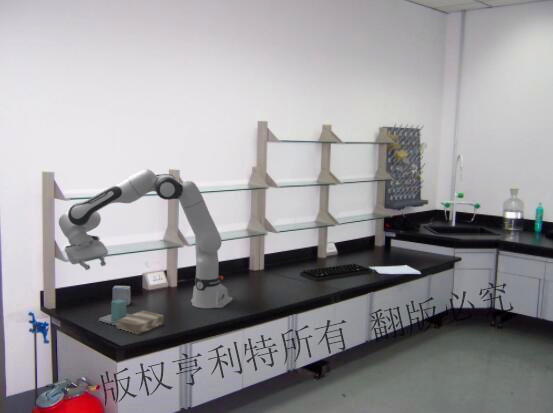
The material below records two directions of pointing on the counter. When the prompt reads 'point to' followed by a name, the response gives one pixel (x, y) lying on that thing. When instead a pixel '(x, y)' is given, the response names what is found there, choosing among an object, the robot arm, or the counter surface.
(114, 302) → the teal square-faced block
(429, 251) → the counter surface
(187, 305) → the counter surface
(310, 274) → the computer keyboard
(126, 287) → the medicine box
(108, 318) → the post stand
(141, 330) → the riser block
